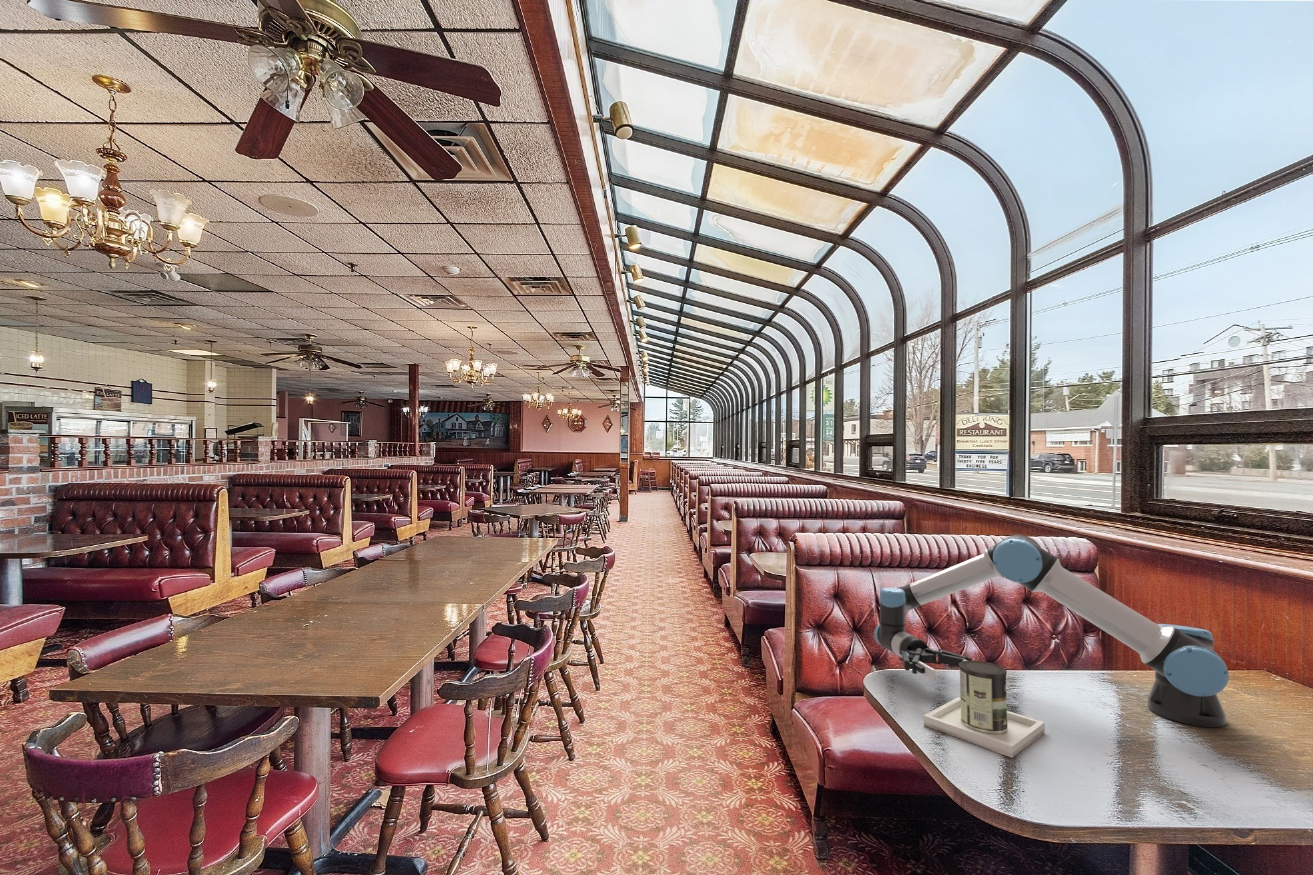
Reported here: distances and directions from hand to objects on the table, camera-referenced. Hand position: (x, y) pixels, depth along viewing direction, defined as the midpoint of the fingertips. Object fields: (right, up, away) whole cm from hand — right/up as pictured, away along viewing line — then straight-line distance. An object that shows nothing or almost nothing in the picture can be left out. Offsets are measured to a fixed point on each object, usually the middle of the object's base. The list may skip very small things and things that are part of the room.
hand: (957, 674), depth 151 cm
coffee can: (+1, -9, -10) cm, 13 cm away
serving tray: (+1, -10, -10) cm, 14 cm away
